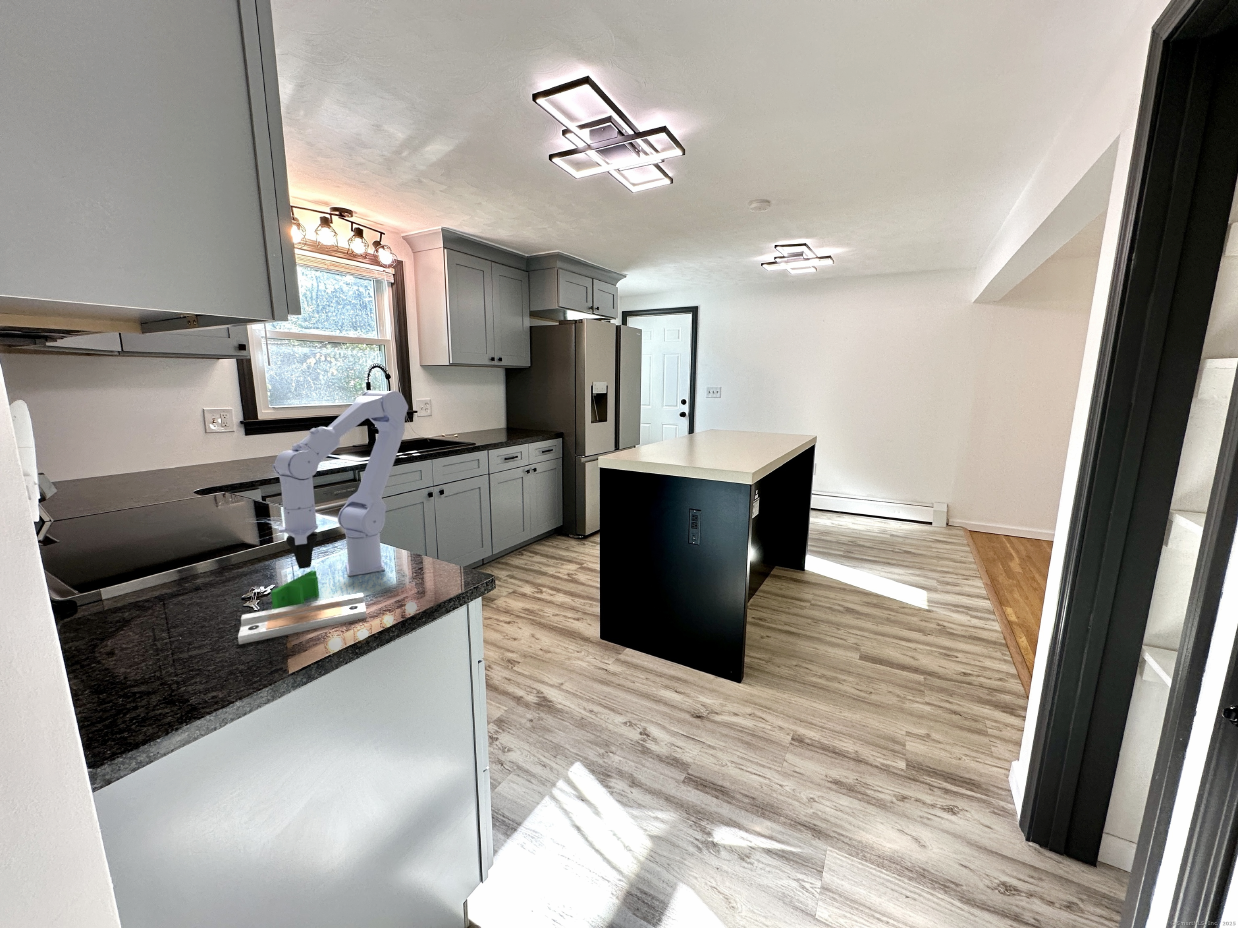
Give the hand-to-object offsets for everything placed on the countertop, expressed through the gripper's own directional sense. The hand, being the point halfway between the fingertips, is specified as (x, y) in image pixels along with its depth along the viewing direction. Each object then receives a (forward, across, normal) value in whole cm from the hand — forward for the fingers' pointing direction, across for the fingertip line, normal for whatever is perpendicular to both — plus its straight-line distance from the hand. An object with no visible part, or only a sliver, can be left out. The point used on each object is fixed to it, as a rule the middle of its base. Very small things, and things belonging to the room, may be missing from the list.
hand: (304, 567), depth 110 cm
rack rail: (+5, +17, 0) cm, 18 cm away
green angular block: (+6, +6, -1) cm, 8 cm away
